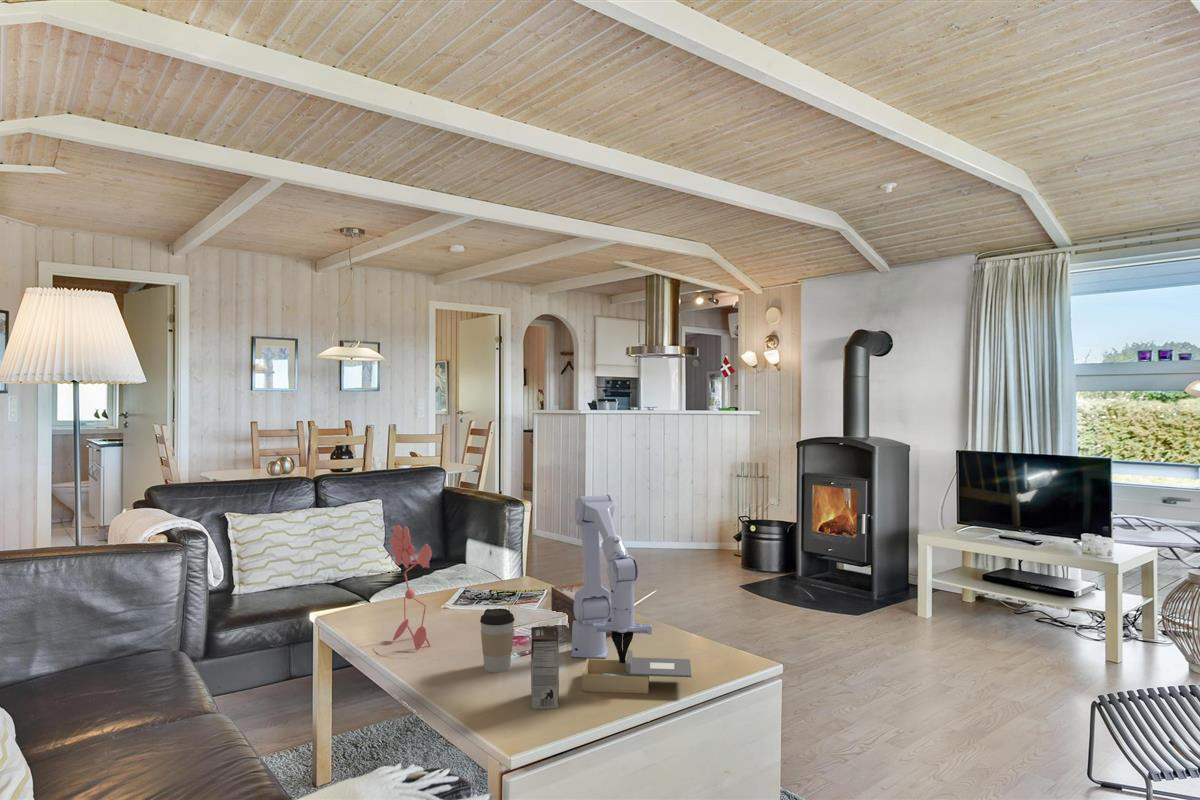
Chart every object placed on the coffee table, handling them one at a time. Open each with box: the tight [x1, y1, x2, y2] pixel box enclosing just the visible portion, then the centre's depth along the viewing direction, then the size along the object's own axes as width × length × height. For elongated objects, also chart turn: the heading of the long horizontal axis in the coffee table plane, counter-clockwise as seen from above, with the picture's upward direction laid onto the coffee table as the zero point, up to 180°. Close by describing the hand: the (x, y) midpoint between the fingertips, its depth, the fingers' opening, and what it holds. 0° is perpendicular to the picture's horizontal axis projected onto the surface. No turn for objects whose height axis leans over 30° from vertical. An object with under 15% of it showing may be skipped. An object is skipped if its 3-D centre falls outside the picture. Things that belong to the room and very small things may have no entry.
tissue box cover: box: [550, 582, 623, 638], centre depth 230 cm, size 26×14×10 cm, turn 26°
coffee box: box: [530, 626, 560, 710], centre depth 171 cm, size 9×6×16 cm
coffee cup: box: [479, 608, 516, 673], centre depth 193 cm, size 9×9×15 cm
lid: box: [625, 649, 692, 678], centre depth 181 cm, size 16×11×2 cm
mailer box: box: [581, 658, 650, 694], centre depth 182 cm, size 16×11×4 cm
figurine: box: [384, 524, 432, 651], centre depth 208 cm, size 15×26×35 cm, turn 43°
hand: (622, 661), depth 182 cm, fingers closed
